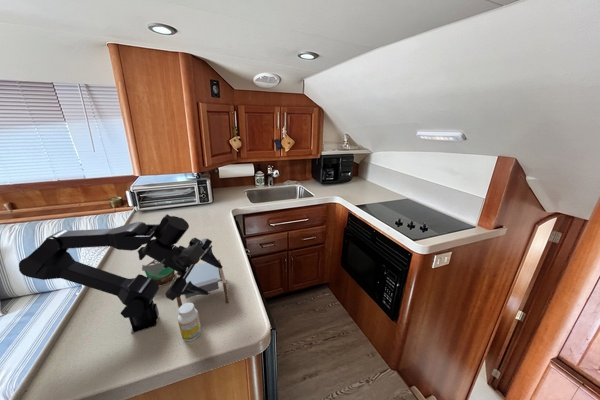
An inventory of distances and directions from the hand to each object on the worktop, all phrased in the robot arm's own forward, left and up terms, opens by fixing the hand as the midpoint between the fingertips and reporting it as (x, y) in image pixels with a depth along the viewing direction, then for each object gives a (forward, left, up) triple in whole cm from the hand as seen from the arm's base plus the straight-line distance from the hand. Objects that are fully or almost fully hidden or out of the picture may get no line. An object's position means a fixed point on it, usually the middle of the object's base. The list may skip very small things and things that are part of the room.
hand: (215, 280), depth 70 cm
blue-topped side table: (-4, +11, -13) cm, 18 cm away
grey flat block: (-4, +12, -7) cm, 14 cm away
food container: (-17, +27, -13) cm, 35 cm away
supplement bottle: (-9, -4, -13) cm, 16 cm away
